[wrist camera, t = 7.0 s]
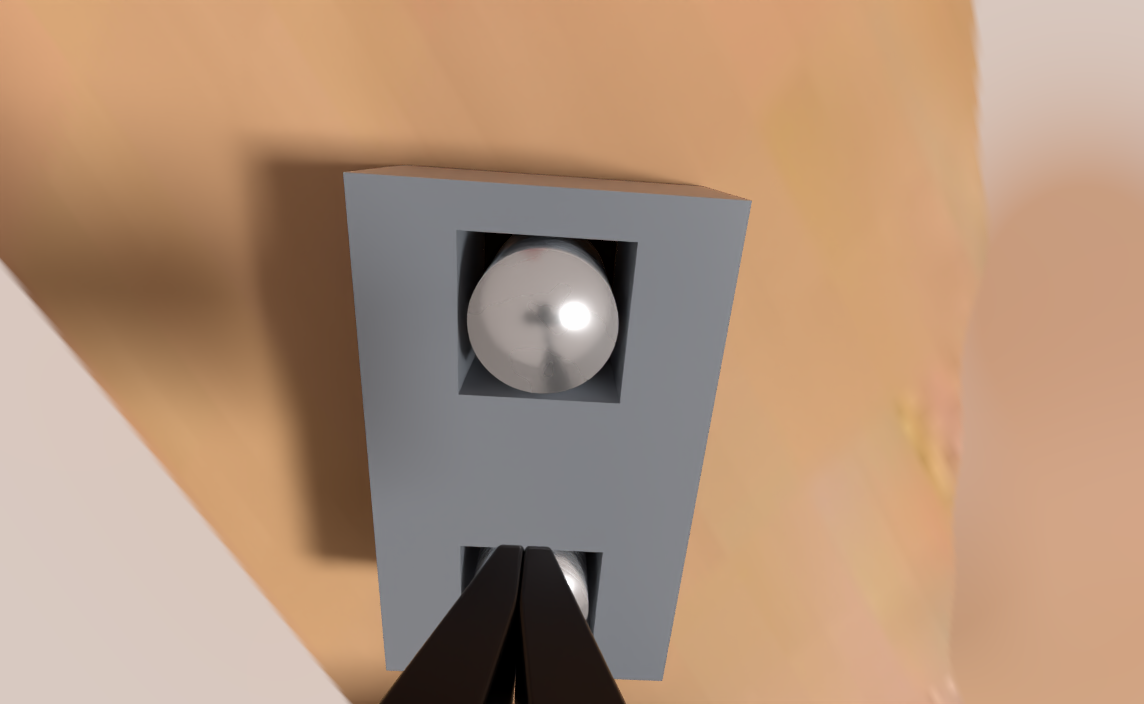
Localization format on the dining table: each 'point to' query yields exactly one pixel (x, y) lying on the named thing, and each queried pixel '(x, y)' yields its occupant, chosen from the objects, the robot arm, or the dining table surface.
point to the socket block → (537, 395)
